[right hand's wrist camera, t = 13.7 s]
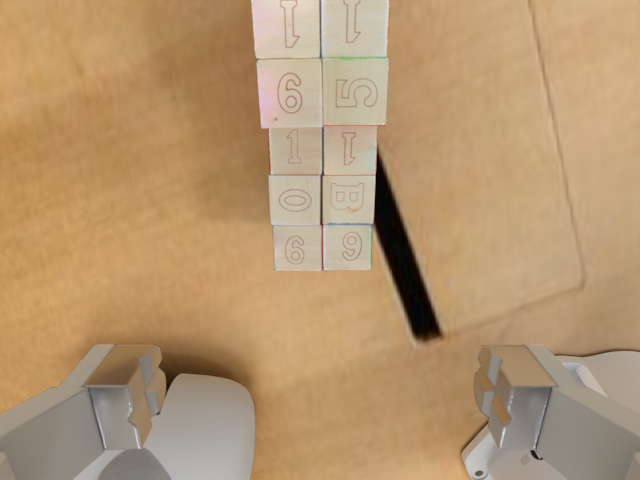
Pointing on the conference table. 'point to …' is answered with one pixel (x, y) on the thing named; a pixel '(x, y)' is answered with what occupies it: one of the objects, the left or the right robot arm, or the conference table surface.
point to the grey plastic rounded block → (190, 436)
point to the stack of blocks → (322, 125)
